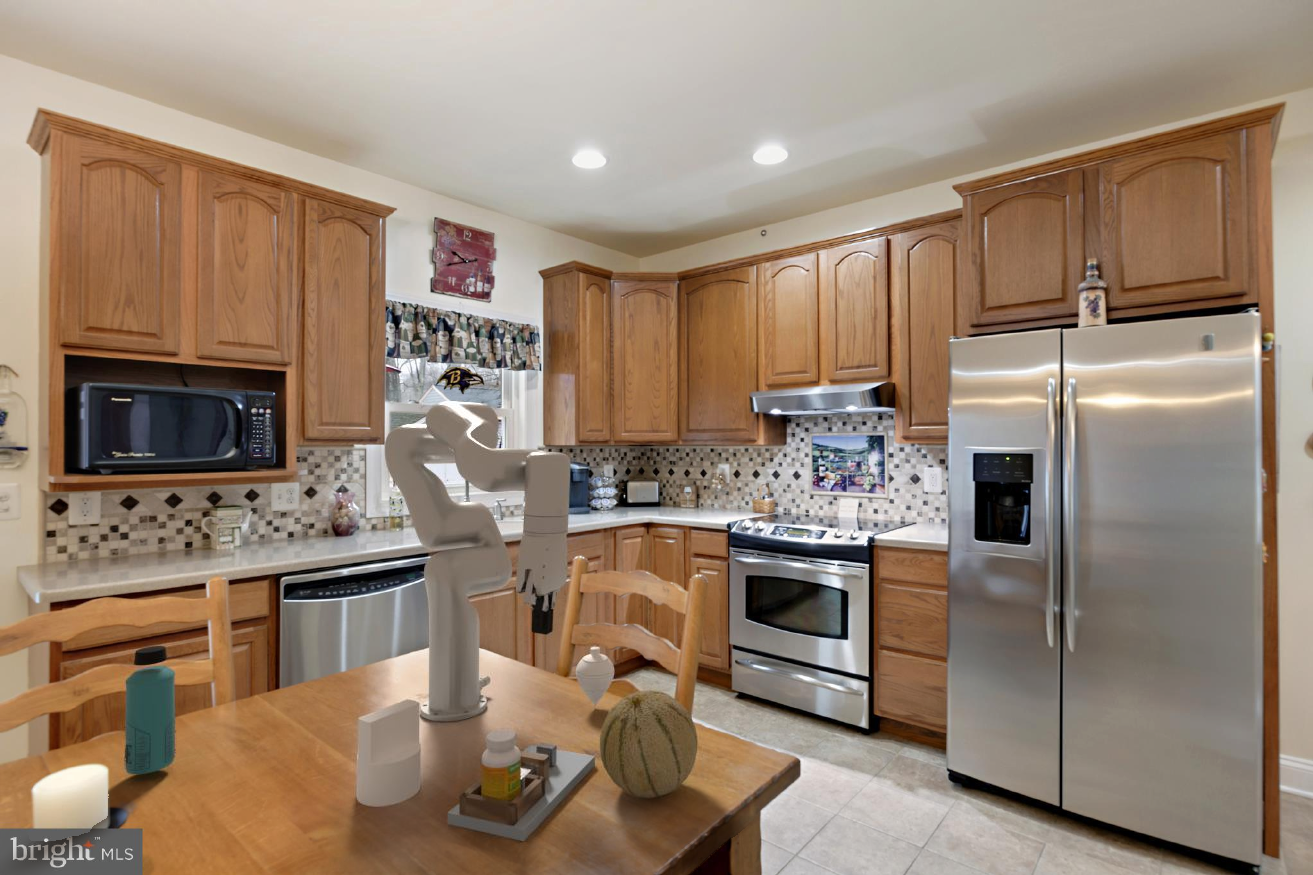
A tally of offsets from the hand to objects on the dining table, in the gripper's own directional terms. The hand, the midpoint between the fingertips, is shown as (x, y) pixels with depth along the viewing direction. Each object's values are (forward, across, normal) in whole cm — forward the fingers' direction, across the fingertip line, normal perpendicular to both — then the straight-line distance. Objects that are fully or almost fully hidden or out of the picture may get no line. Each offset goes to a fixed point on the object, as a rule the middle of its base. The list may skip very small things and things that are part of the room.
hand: (542, 632), depth 111 cm
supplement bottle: (+18, +19, +5) cm, 27 cm away
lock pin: (+18, +11, +5) cm, 22 cm away
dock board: (+20, +12, +5) cm, 24 cm away
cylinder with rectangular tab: (+21, +19, -15) cm, 32 cm away
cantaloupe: (+20, +6, +22) cm, 30 cm away
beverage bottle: (+23, +28, -54) cm, 65 cm away
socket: (+18, +19, +5) cm, 27 cm away
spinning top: (+21, -20, +1) cm, 29 cm away
